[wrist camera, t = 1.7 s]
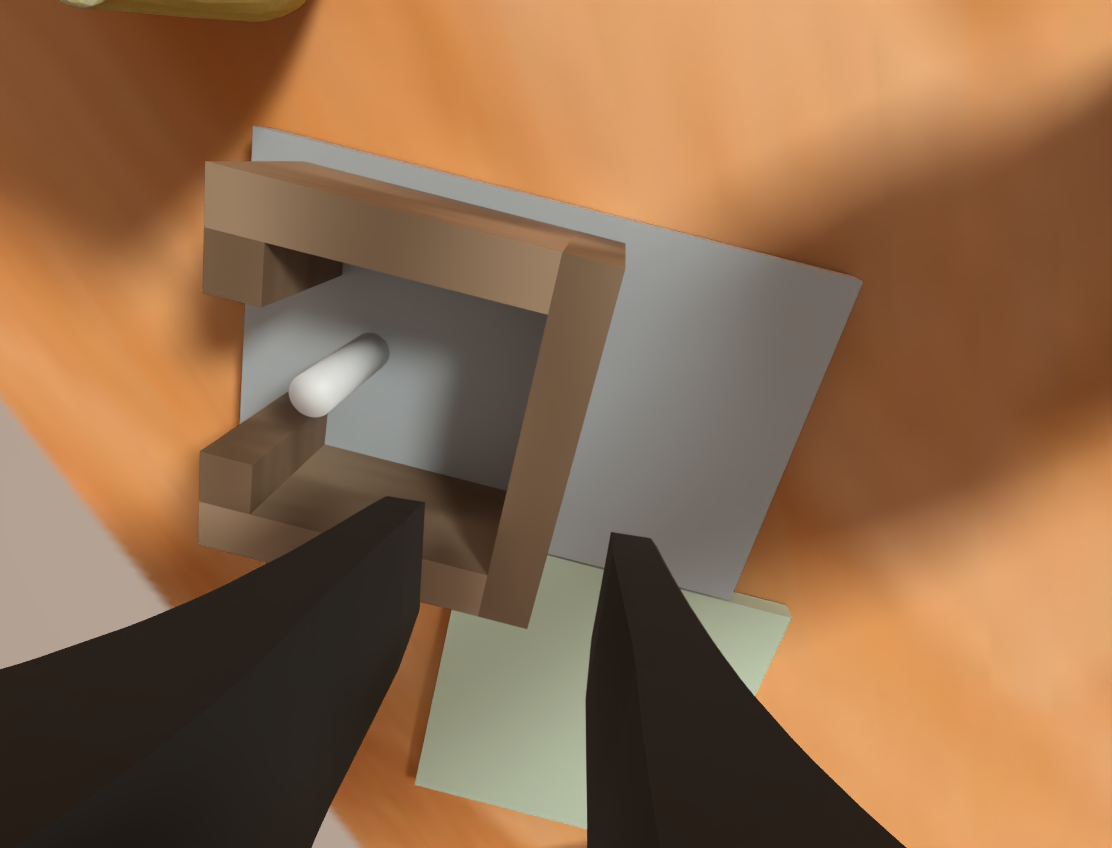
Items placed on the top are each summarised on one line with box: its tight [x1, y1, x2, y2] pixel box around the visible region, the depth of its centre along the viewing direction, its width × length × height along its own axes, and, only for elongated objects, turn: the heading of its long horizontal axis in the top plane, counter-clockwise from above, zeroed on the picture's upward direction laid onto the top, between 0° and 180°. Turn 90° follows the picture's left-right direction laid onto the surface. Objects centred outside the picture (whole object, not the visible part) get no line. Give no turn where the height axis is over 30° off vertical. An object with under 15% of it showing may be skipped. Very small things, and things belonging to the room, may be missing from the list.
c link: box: [198, 161, 626, 629], centre depth 15 cm, size 8×9×4 cm
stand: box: [240, 126, 864, 600], centre depth 16 cm, size 15×10×4 cm, turn 77°
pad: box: [415, 554, 792, 829], centre depth 22 cm, size 10×11×1 cm
